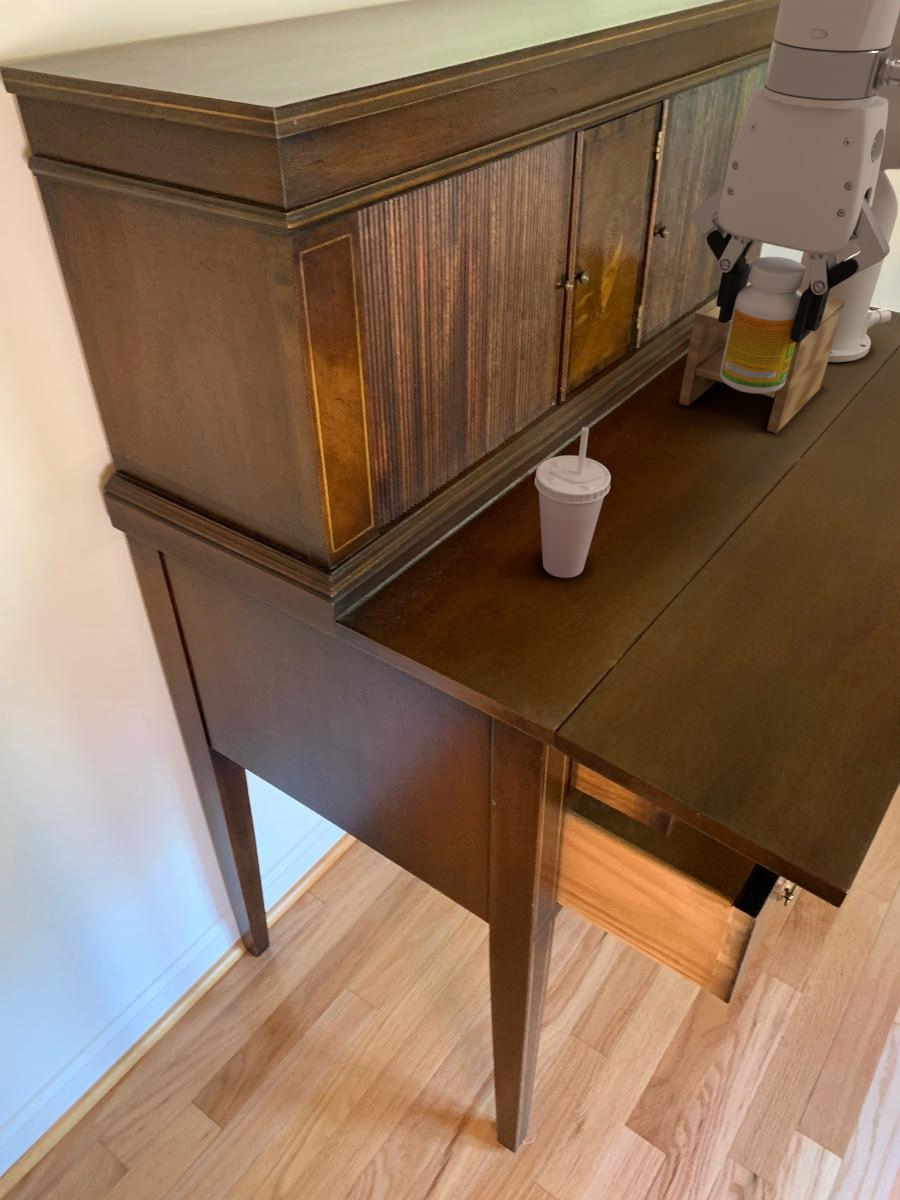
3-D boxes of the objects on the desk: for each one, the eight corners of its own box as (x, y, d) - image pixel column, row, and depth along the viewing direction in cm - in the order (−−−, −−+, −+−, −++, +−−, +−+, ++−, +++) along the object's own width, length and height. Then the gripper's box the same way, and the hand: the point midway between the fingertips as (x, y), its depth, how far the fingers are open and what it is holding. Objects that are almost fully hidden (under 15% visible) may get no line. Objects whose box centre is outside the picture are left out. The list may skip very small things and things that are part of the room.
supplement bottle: (788, 398, 75) (819, 280, 69) (720, 392, 76) (745, 276, 69) (781, 368, 79) (810, 255, 73) (717, 363, 80) (741, 250, 73)
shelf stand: (727, 362, 117) (745, 276, 110) (819, 389, 111) (845, 300, 104) (678, 403, 108) (695, 312, 101) (776, 433, 103) (801, 340, 96)
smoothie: (595, 591, 80) (615, 451, 72) (523, 581, 81) (534, 443, 73) (601, 549, 85) (620, 413, 76) (532, 540, 86) (544, 405, 77)
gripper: (970, 79, 61) (886, 338, 73) (728, 50, 69) (687, 287, 80) (940, 100, 56) (855, 373, 68) (683, 66, 64) (647, 316, 76)
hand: (764, 324), depth 74 cm, fingers closed on supplement bottle, 5 cm apart
